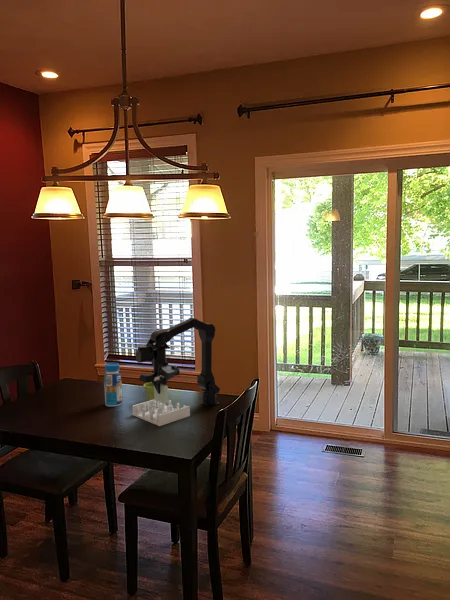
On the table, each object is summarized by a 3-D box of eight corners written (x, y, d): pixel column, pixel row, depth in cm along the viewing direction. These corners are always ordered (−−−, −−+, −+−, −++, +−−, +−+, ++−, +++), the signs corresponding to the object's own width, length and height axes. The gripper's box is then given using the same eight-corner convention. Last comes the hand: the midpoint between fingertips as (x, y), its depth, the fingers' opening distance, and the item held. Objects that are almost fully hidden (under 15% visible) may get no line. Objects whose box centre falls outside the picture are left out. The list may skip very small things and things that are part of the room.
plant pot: (150, 405, 230) (149, 388, 229) (140, 401, 237) (140, 384, 236) (167, 401, 236) (166, 384, 235) (156, 397, 243) (156, 380, 242)
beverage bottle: (102, 403, 234) (100, 364, 232) (118, 400, 239) (116, 361, 237) (109, 408, 227) (107, 367, 225) (125, 404, 232) (123, 364, 230)
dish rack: (162, 406, 229) (162, 397, 229) (189, 415, 215) (189, 406, 215) (132, 415, 217) (132, 405, 217) (159, 426, 203) (159, 415, 203)
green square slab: (157, 399, 219) (156, 382, 218) (168, 403, 213) (167, 385, 212) (154, 400, 218) (153, 382, 217) (165, 403, 212) (164, 386, 211)
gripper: (153, 366, 201) (154, 402, 203) (187, 358, 214) (188, 392, 216) (138, 362, 209) (139, 396, 211) (171, 354, 222) (172, 387, 224)
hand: (160, 393), depth 215 cm, fingers closed on green square slab, 2 cm apart
